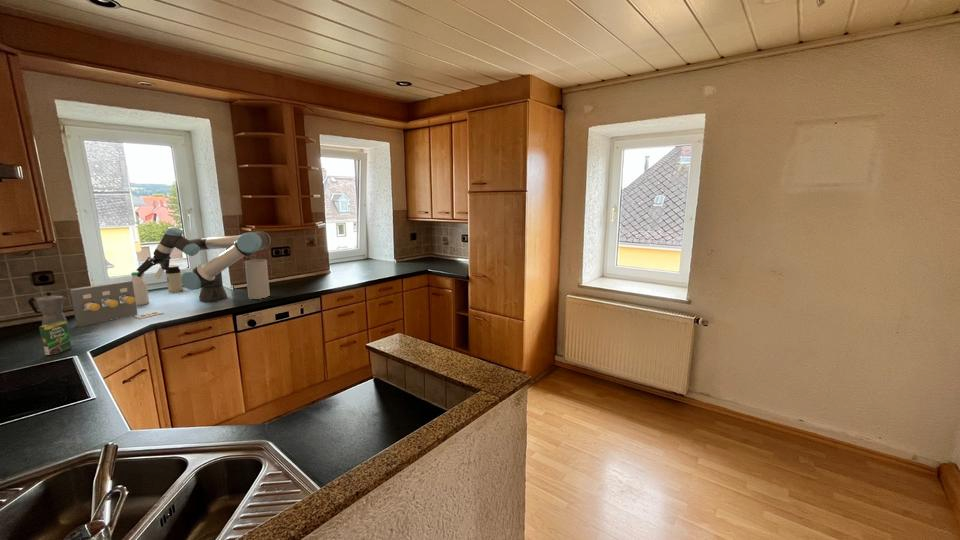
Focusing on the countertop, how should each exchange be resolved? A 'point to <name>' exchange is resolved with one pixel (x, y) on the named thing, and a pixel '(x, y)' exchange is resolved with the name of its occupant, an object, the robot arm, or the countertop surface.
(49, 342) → the coffee box
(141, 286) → the milk bottle
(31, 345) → the countertop surface
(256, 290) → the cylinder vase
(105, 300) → the middle button
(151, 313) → the card
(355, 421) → the countertop surface
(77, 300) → the button panel
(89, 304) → the button
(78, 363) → the countertop surface
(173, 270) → the travel mug
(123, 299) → the button
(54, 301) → the coffeepot
